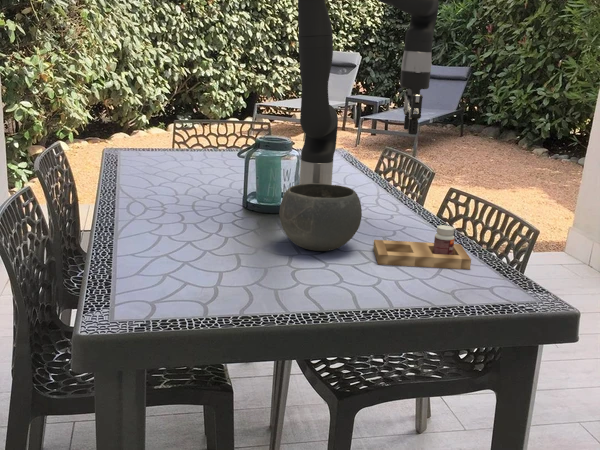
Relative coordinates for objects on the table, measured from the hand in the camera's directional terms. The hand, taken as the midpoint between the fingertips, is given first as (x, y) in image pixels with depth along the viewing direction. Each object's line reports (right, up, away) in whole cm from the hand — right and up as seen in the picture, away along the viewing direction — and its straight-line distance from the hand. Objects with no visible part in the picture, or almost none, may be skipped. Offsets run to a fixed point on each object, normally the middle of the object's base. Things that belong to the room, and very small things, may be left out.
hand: (410, 131), depth 184 cm
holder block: (0, -33, -14) cm, 36 cm away
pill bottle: (+6, -34, -13) cm, 37 cm away
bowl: (-25, -31, -9) cm, 40 cm away
